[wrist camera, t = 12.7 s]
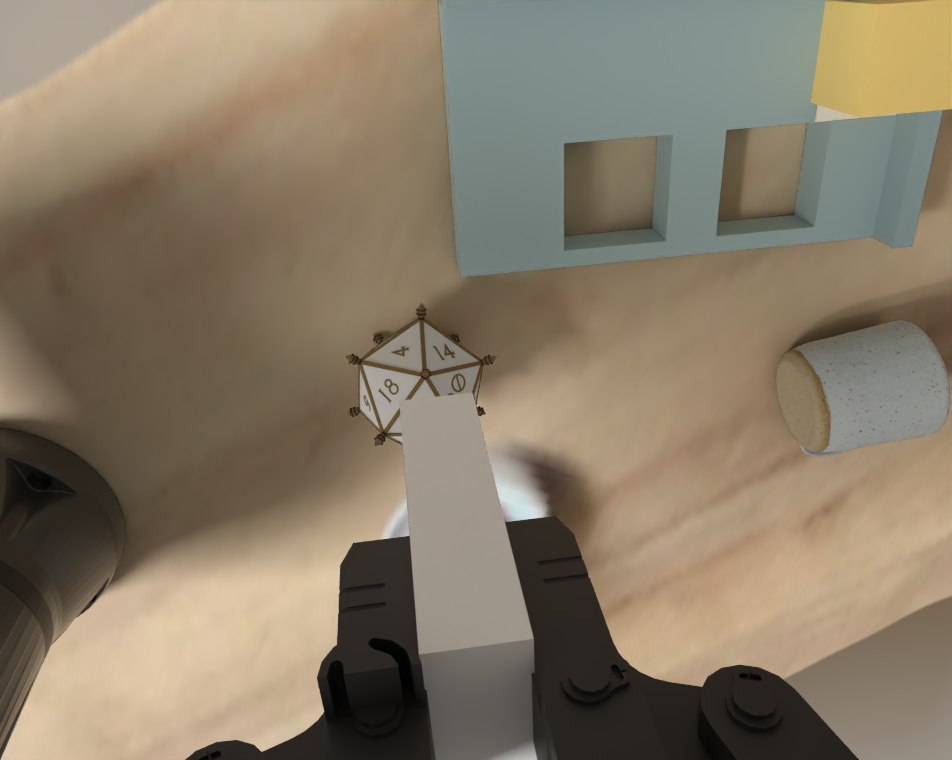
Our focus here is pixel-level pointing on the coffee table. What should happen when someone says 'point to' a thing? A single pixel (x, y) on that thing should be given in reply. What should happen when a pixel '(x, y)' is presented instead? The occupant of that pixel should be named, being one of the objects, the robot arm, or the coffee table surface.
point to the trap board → (656, 127)
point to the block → (884, 57)
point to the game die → (413, 373)
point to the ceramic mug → (863, 388)
